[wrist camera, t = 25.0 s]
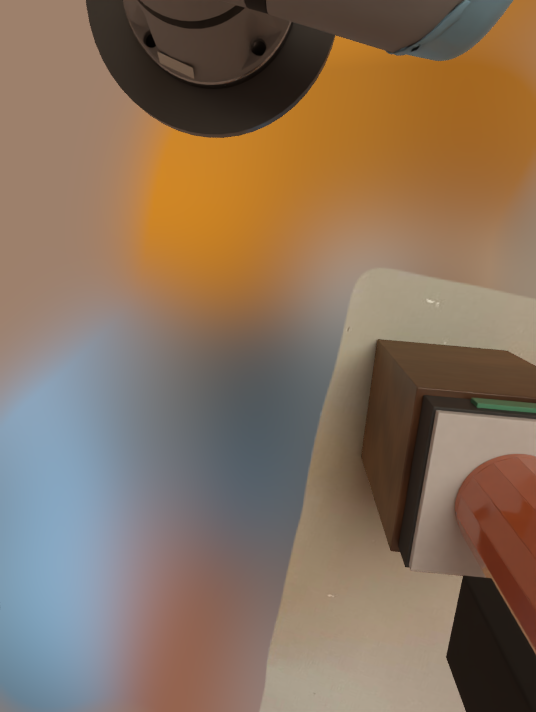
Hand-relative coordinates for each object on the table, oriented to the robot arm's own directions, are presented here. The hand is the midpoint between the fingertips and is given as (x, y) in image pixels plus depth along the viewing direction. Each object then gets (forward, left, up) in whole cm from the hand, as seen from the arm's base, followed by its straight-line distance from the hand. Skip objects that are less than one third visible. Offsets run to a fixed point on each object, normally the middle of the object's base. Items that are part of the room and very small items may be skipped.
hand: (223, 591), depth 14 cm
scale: (+6, +17, -21) cm, 27 cm away
